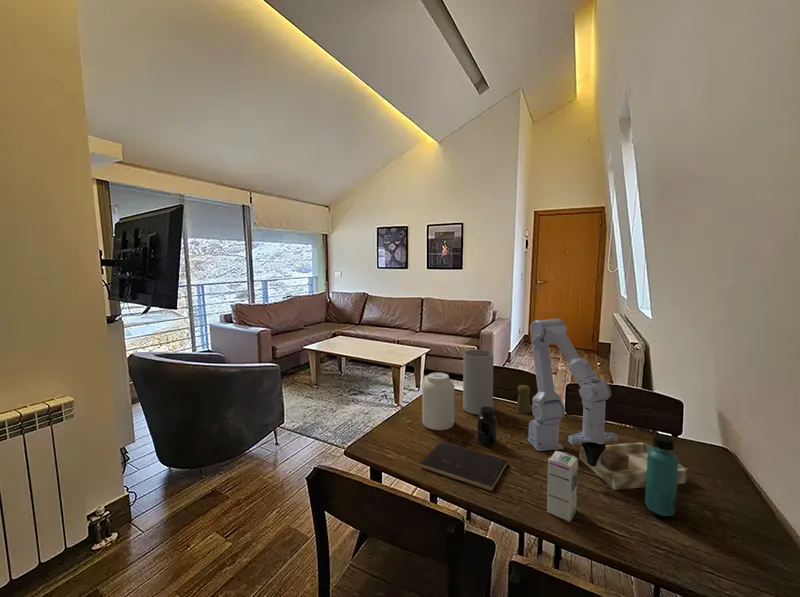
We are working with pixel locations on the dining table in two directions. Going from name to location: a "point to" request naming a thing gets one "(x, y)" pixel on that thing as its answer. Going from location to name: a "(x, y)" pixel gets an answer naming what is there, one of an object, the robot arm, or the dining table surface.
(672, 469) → the beverage bottle
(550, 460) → the syrup box
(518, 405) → the cork
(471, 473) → the hardcover book
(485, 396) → the cylinder vase
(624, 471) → the trap box
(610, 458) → the walnut block
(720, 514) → the dining table surface
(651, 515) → the dining table surface
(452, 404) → the white lidded jar
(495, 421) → the supplement bottle
